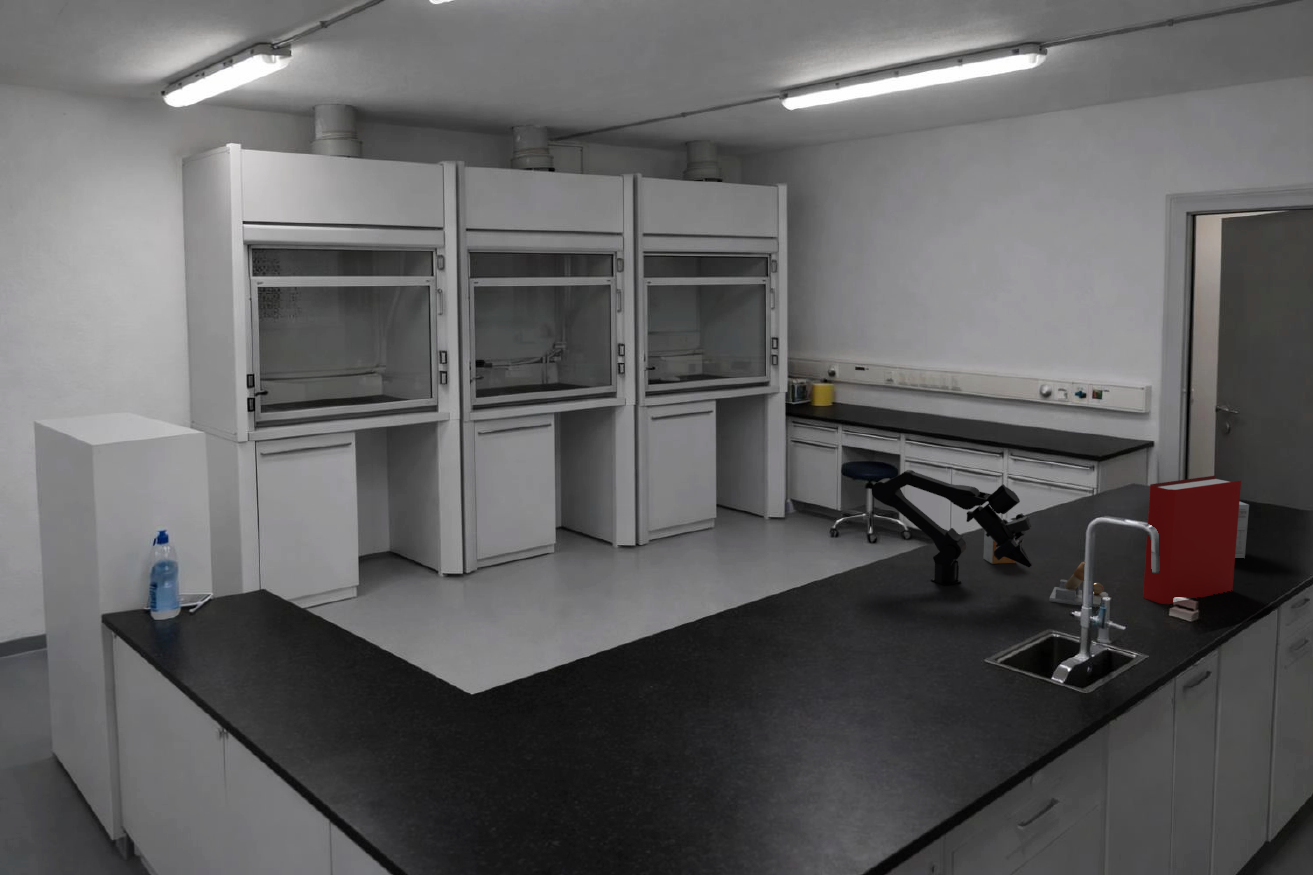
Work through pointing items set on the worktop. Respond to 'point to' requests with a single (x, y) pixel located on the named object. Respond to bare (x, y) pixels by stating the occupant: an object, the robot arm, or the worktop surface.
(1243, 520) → the supplement box
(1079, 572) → the lever
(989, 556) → the small box
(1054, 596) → the nutcracker base
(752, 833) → the worktop surface
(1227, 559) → the book
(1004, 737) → the worktop surface
